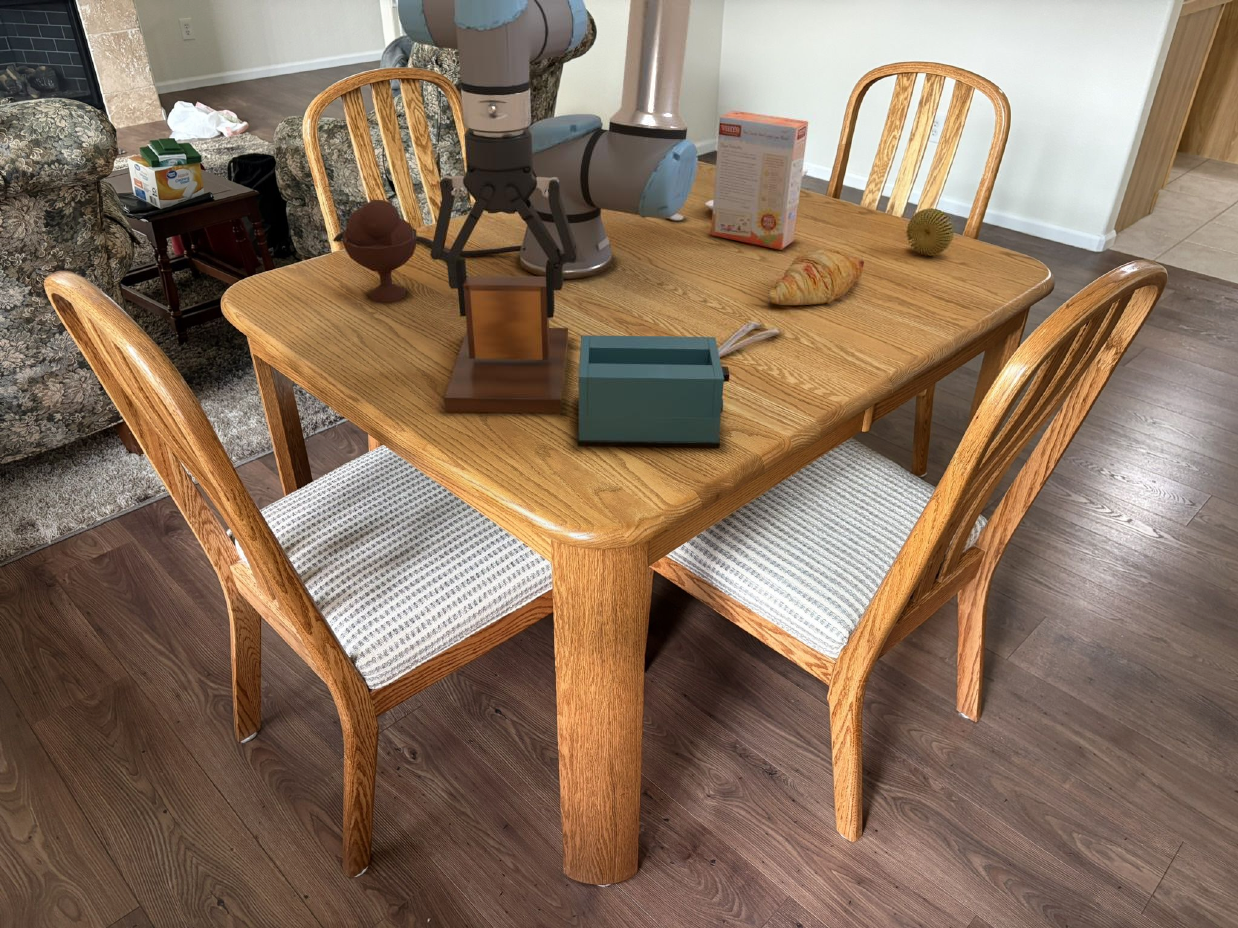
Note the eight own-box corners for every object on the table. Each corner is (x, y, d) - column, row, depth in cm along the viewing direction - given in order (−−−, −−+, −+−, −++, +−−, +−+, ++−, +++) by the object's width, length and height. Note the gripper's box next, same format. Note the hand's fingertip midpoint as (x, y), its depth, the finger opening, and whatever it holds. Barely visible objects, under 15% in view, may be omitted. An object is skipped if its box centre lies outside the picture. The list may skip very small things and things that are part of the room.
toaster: (577, 446, 104) (576, 377, 99) (580, 400, 113) (579, 334, 108) (728, 448, 104) (735, 379, 99) (719, 401, 113) (725, 336, 108)
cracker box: (794, 242, 161) (810, 120, 150) (781, 252, 157) (796, 127, 145) (724, 226, 167) (734, 108, 156) (709, 236, 163) (718, 115, 152)
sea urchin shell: (951, 257, 156) (962, 212, 152) (941, 263, 154) (952, 217, 149) (909, 246, 160) (918, 201, 156) (898, 251, 158) (907, 206, 154)
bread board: (560, 413, 110) (560, 399, 109) (445, 412, 110) (444, 397, 109) (569, 328, 130) (569, 315, 129) (472, 327, 130) (471, 314, 129)
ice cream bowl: (437, 288, 141) (428, 193, 133) (394, 315, 133) (380, 214, 124) (382, 276, 145) (369, 182, 136) (336, 301, 136) (319, 203, 128)
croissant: (781, 336, 137) (805, 300, 130) (740, 288, 140) (762, 252, 133) (867, 298, 148) (894, 264, 142) (828, 255, 151) (852, 220, 144)
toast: (469, 358, 115) (463, 284, 110) (472, 348, 118) (466, 275, 112) (548, 360, 115) (546, 286, 110) (549, 349, 118) (547, 276, 112)
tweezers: (754, 326, 131) (755, 314, 130) (781, 337, 129) (782, 324, 128) (676, 373, 121) (677, 360, 120) (704, 386, 119) (704, 373, 118)
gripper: (389, 135, 98) (411, 324, 110) (598, 139, 98) (597, 326, 110) (402, 119, 104) (422, 299, 116) (599, 122, 104) (598, 302, 117)
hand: (507, 312), depth 113 cm, fingers closed on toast, 10 cm apart
